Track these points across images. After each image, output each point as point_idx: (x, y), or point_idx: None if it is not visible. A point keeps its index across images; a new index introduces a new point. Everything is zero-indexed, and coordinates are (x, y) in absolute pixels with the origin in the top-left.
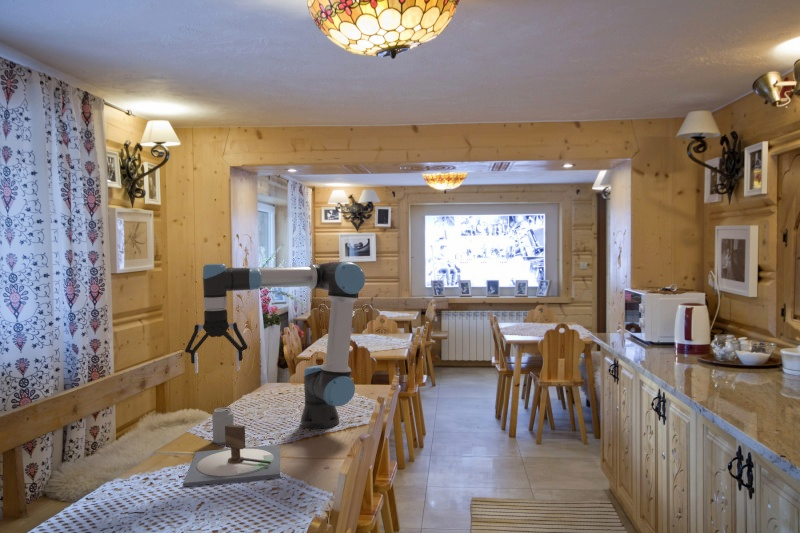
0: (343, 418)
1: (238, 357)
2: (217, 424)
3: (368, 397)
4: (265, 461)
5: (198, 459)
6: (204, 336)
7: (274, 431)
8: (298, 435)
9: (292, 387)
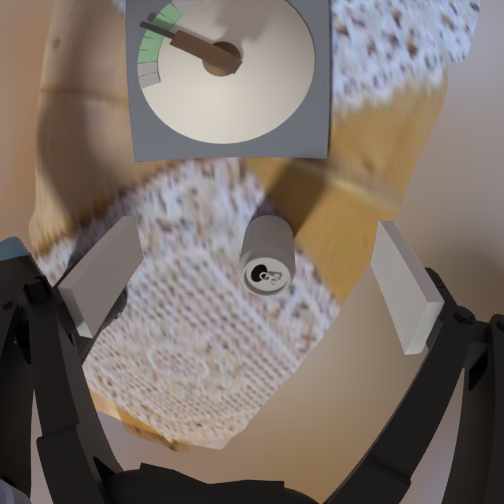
0: None
1: (81, 261)
2: (280, 238)
3: None
4: (149, 24)
5: (316, 100)
6: (396, 483)
7: (166, 269)
8: None
9: (187, 435)
